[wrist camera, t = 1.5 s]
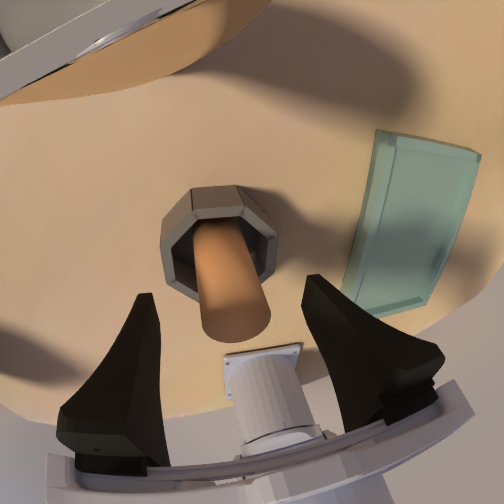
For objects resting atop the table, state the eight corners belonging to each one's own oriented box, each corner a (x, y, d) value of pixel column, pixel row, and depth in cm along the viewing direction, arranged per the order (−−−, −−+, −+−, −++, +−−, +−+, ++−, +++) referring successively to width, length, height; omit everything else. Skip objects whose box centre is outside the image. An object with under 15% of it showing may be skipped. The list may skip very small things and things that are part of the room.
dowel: (238, 245, 20) (268, 337, 13) (193, 249, 19) (205, 346, 13) (238, 205, 18) (273, 291, 12) (190, 209, 18) (198, 300, 11)
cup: (261, 268, 22) (272, 295, 20) (171, 278, 21) (171, 307, 18) (266, 183, 18) (281, 203, 16) (158, 191, 17) (154, 213, 14)
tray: (418, 296, 30) (425, 305, 29) (332, 316, 28) (338, 327, 26) (470, 148, 20) (481, 154, 18) (376, 129, 17) (388, 134, 16)
